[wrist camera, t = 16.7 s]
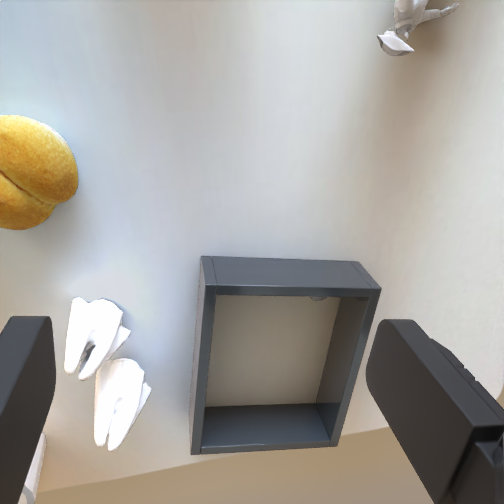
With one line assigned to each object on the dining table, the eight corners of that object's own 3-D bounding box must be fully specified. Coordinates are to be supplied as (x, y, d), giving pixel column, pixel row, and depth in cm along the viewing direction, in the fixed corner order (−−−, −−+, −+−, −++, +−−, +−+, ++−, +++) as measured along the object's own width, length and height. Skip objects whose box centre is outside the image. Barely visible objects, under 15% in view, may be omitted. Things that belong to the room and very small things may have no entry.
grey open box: (188, 414, 49) (190, 455, 44) (201, 255, 40) (205, 284, 36) (321, 409, 52) (337, 446, 47) (358, 261, 44) (382, 288, 39)
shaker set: (153, 380, 46) (149, 471, 36) (115, 391, 46) (100, 486, 36) (113, 287, 40) (95, 365, 30) (69, 299, 40) (36, 381, 30)
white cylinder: (-29, 427, 44) (-62, 490, 38) (38, 411, 45) (17, 470, 39) (-1, 470, 48) (-27, 534, 41) (61, 454, 48) (45, 515, 42)
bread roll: (100, 170, 36) (92, 183, 32) (23, 236, 37) (8, 256, 33) (16, 86, 32) (-3, 91, 28) (-66, 163, 33) (-94, 177, 30)
